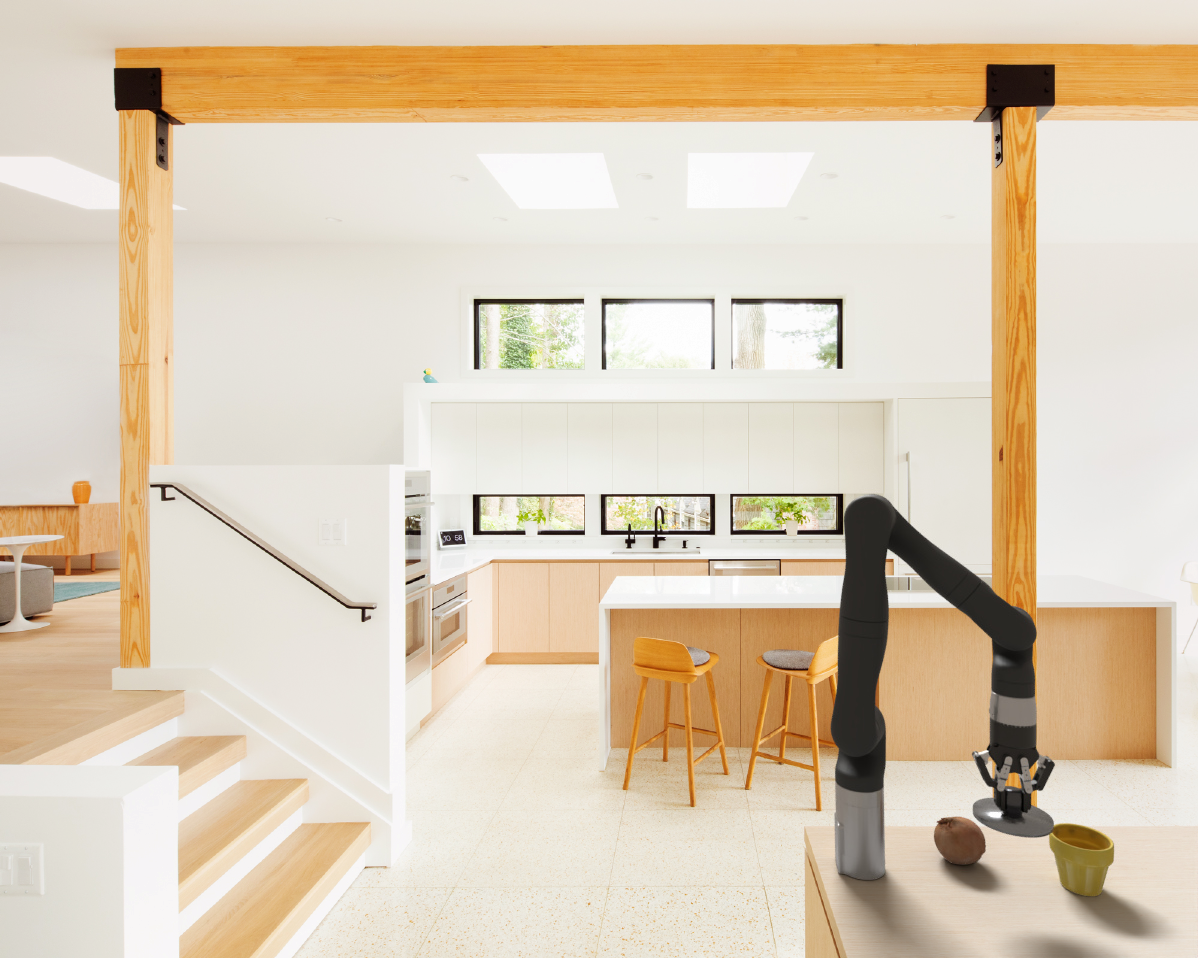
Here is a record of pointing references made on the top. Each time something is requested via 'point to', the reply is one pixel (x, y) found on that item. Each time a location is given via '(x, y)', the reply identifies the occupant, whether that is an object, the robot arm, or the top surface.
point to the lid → (1013, 816)
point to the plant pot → (1081, 857)
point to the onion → (959, 840)
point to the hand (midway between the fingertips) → (1012, 809)
